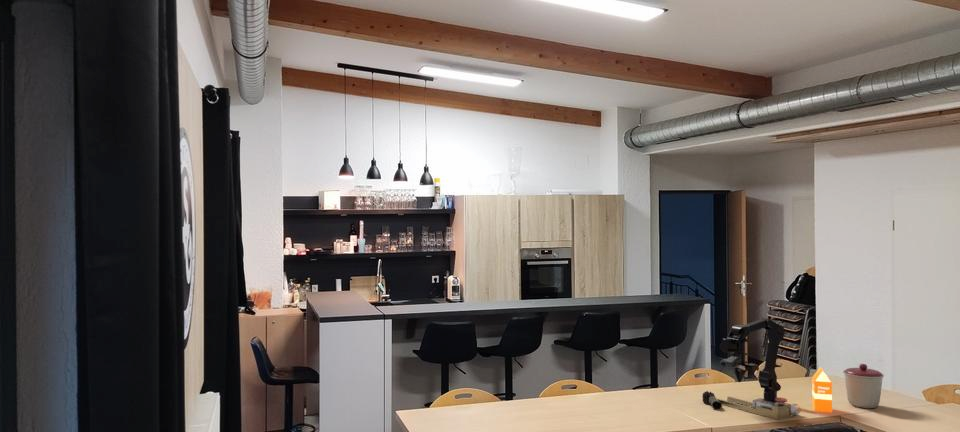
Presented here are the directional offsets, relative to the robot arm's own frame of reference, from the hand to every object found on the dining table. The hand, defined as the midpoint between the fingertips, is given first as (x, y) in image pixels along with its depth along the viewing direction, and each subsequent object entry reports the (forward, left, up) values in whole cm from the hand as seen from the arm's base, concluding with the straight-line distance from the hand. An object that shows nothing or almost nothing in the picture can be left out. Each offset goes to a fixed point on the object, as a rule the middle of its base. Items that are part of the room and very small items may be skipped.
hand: (739, 382), depth 342 cm
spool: (+1, +16, -12) cm, 20 cm away
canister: (-53, +33, -12) cm, 63 cm away
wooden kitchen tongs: (-2, +9, -12) cm, 15 cm away
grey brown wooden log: (+11, -9, -12) cm, 19 cm away
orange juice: (-29, +26, -12) cm, 40 cm away
